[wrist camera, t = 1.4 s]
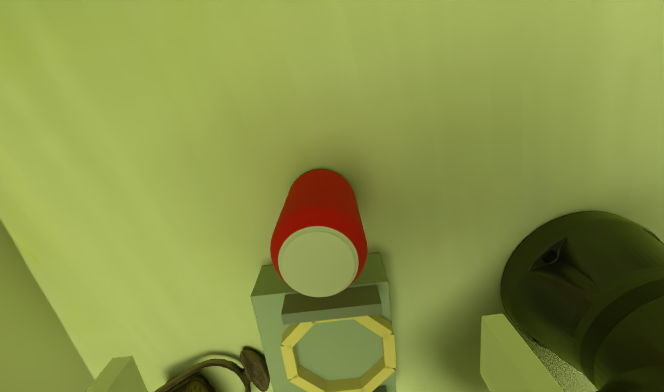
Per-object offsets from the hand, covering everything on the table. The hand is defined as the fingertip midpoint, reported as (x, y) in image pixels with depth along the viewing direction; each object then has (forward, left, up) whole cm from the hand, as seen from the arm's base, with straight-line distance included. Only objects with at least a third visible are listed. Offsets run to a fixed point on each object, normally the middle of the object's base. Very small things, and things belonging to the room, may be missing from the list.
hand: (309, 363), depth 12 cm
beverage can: (0, 0, -19) cm, 19 cm away
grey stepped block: (+1, +15, -19) cm, 24 cm away
